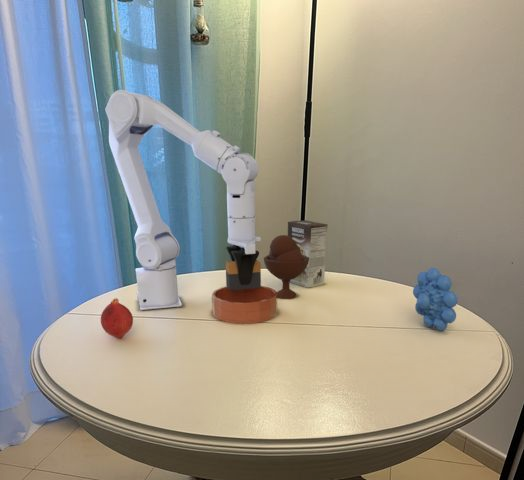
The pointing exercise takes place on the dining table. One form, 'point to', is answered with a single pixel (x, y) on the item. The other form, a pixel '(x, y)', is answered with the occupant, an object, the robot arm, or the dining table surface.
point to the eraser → (233, 277)
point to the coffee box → (310, 250)
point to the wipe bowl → (244, 304)
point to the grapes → (435, 299)
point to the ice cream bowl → (285, 263)
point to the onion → (116, 319)
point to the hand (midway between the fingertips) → (242, 280)
